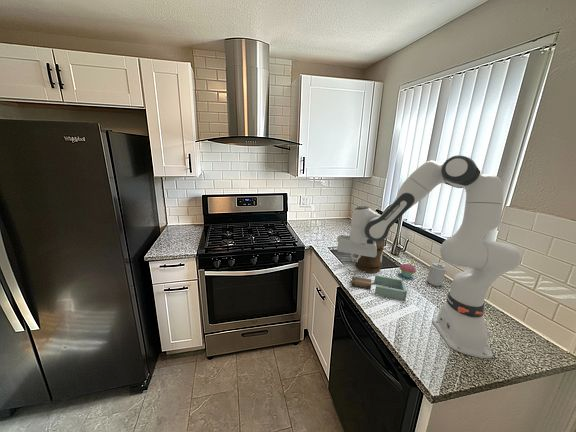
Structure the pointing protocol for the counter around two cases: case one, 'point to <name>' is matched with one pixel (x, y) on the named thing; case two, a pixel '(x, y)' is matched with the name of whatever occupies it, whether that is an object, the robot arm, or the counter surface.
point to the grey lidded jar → (436, 273)
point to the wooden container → (371, 260)
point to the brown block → (361, 282)
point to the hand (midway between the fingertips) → (354, 261)
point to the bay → (390, 291)
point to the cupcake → (407, 269)
